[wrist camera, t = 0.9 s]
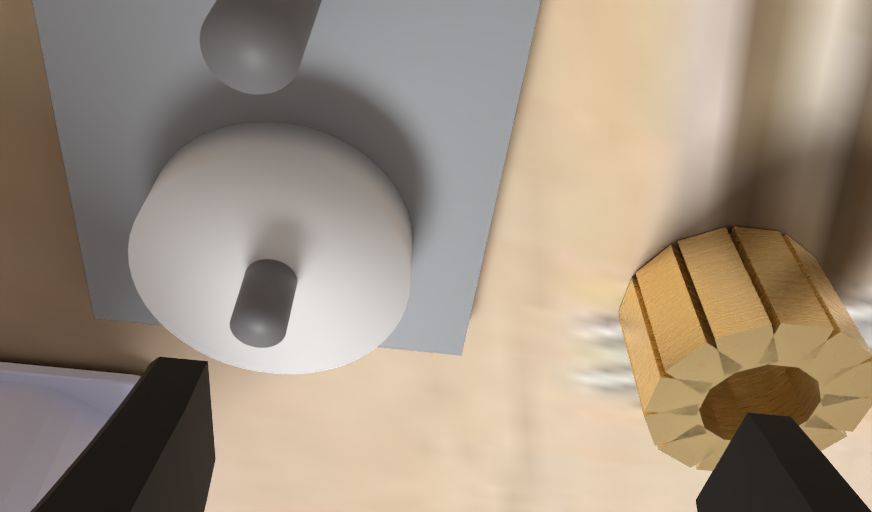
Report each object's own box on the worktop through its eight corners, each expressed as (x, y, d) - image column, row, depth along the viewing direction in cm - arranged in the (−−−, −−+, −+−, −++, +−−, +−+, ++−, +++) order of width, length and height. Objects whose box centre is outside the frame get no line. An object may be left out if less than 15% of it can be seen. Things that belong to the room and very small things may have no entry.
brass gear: (772, 379, 24) (816, 480, 21) (599, 361, 23) (620, 462, 20) (855, 240, 20) (922, 338, 17) (655, 216, 20) (690, 313, 17)
